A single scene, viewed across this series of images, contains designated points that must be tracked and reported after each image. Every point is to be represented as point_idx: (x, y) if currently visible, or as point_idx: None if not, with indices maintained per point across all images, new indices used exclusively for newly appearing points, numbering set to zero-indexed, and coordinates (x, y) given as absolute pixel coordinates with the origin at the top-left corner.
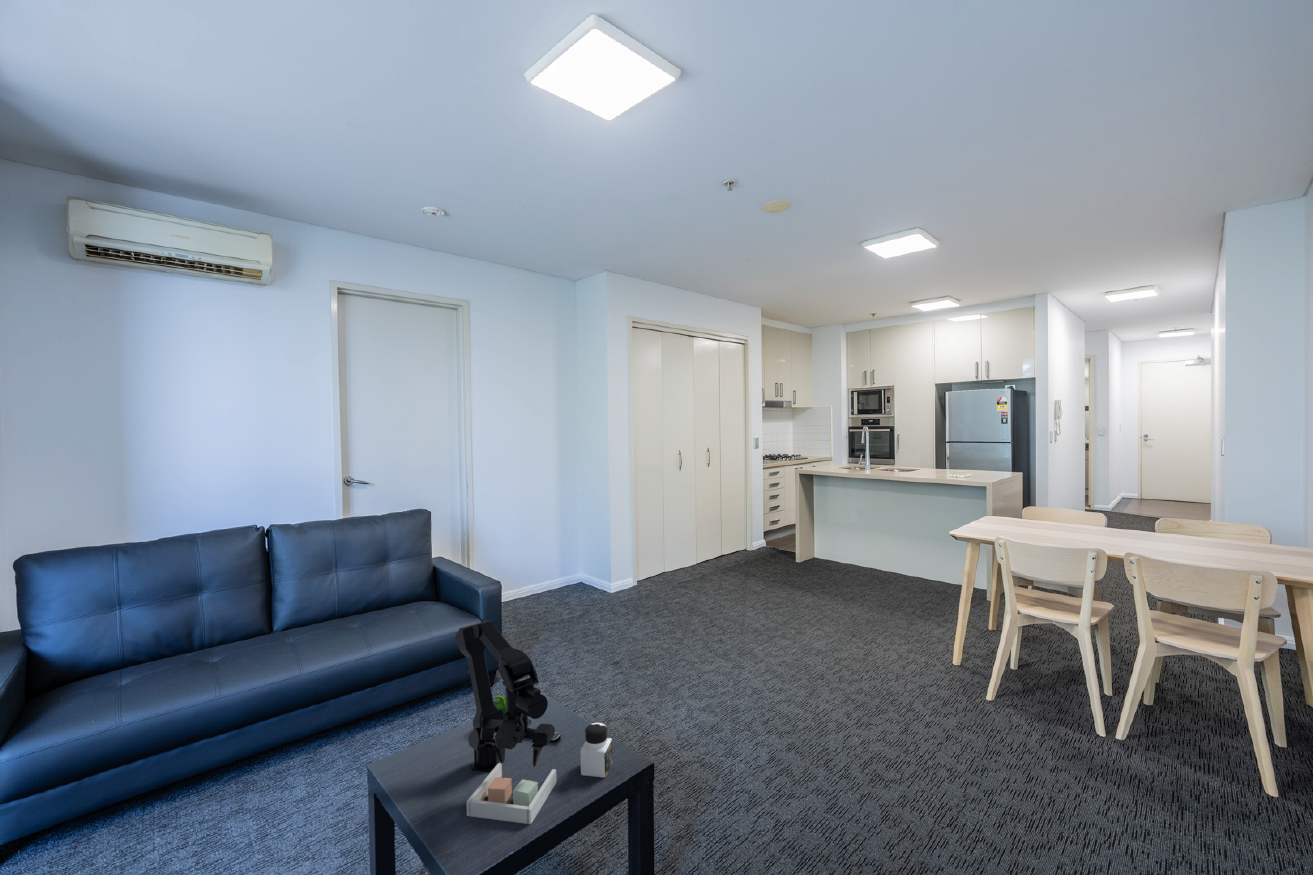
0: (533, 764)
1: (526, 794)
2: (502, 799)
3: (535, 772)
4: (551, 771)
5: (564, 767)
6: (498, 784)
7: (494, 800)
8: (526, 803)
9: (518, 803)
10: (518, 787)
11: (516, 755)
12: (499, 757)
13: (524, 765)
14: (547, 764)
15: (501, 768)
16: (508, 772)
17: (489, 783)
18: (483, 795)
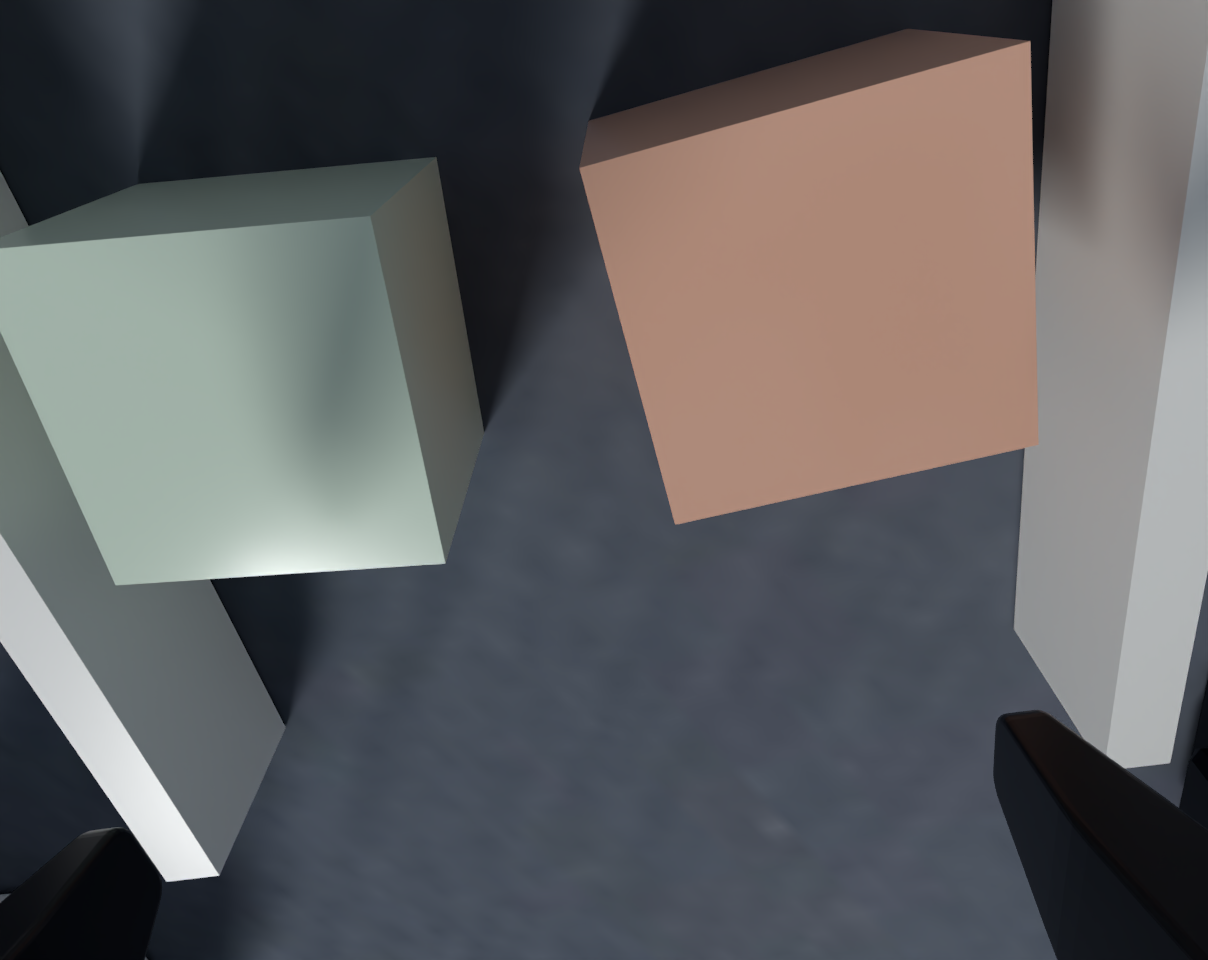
0: (71, 873)
1: (38, 234)
2: (633, 120)
3: (613, 789)
4: (190, 836)
5: (358, 919)
6: (831, 267)
7: (793, 72)
8: (148, 198)
9: (323, 177)
10: (327, 337)
11: (1014, 926)
12: (1176, 835)
13: (823, 839)
14: (570, 909)
15: (1066, 705)
16: (958, 704)
17: (1104, 352)
18: (1083, 92)
